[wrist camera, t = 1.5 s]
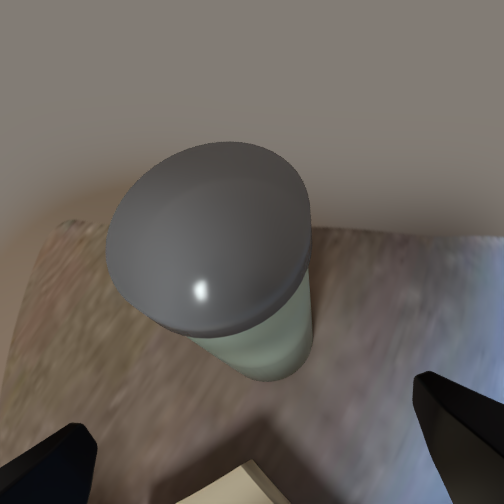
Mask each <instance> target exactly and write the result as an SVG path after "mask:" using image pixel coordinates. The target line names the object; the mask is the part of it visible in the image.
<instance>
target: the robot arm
mask: <svg viewBox="0 0 504 504" xmlns="http://www.w3.org/2000/svg"><path fill="white" fill-rule="evenodd" d="M412 401H413V407H414V410H415V412H416V415H417V418H418V421H419V424H420V426H421V429H422V432H423V435H424V438H425V441H426V444H427V447H428V450H429V452H430V455H431V457H432V460H433V462H434V464H435V466H436V468H437V470H438V472H439V474H440V476H441V478H442V481H443V483H444V485H445V487H446V489H447V491H448V494H449V496H450V498H451V500H452V502H453V504H504V404H502V403H500V402H497V401H495V400H493V399H491V398H488V397H486V396H484V395H482V394H479V393H477V392H475V391H473V390H471V389H469V388H466V387H464V386H462V385H460V384H458V383H455V382H453V381H451V380H449V379H447V378H445V377H443V376H440V375H438V374H436V373H434V372H432V371H426V372H424V373H421V374H418V375H416V376H415V377H414V382H413V398H412ZM97 449H98V448H97V443H96V441H95V440H94V438H93V437H92V435H91V434H90V433H89V431H88V430H87V428H86V427H85V426H84V425H83V424H81V423H69V424H68V425H66V426H65V427H63V428H62V429H60V430H59V431H57V432H56V433H54V434H53V435H51V436H49V437H48V438H46V439H45V440H43V441H42V442H40V443H39V444H37V445H36V446H34V447H32V448H31V449H29V450H28V451H26V452H25V453H23V454H21V455H20V456H18V457H17V458H15V459H13V460H12V461H10V462H9V463H7V464H5V465H4V466H2V467H1V468H0V504H87V503H88V499H89V495H90V491H91V485H92V479H93V473H94V467H95V461H96V455H97Z"/></svg>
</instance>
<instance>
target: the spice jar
mask: <svg viewBox="0 0 504 504" xmlns="http://www.w3.org/2000/svg"><path fill="white" fill-rule="evenodd" d="M311 251H312V230H311V215H310V203H309V198H308V194H307V190H306V188H305V185H304V183H303V181H302V179H301V177H300V176H299V174H298V173H297V171H296V170H295V169H294V168H293V167H292V166H291V165H290V164H289V163H288V162H287V161H286V160H285V159H283V158H282V157H281V156H279V155H277V154H276V153H274V152H272V151H270V150H268V149H265V148H263V147H260V146H256V145H253V144H248V143H242V142H216V143H208V144H204V145H199V146H195V147H192V148H189V149H186V150H184V151H181V152H179V153H177V154H174V155H172V156H171V157H169V158H167V159H165V160H163V161H162V162H160V163H159V164H157V165H156V166H154V167H153V168H152V169H150V170H149V171H148V172H146V173H145V174H144V175H143V176H142V177H141V178H140V179H139V180H138V181H137V182H136V183H135V184H134V185H133V186H132V187H131V188H130V189H129V191H128V192H127V193H126V195H125V196H124V198H123V199H122V200H121V202H120V204H119V205H118V207H117V209H116V211H115V213H114V215H113V218H112V220H111V223H110V226H109V229H108V234H107V239H106V262H107V266H108V271H109V274H110V276H111V279H112V281H113V283H114V285H115V287H116V288H117V290H118V291H119V293H120V294H121V295H122V296H123V297H124V298H125V300H126V301H128V302H129V303H130V304H131V305H133V306H134V307H135V308H136V309H138V310H139V311H141V312H142V313H143V314H145V315H146V316H147V317H149V318H150V319H152V320H153V321H155V322H156V323H157V324H159V325H160V326H162V327H164V328H166V329H167V330H169V331H171V332H174V333H177V334H180V335H183V336H187V337H188V338H189V339H191V340H192V341H194V342H195V343H196V344H198V345H199V346H201V347H202V348H204V349H205V350H207V351H208V352H209V353H211V354H212V355H214V356H215V357H217V358H218V359H220V360H221V361H223V362H224V363H226V364H227V365H229V366H230V367H232V368H233V369H235V370H236V371H238V372H239V373H241V374H243V375H244V376H246V377H248V378H250V379H253V380H256V381H262V382H271V381H277V380H281V379H284V378H286V377H288V376H290V375H292V374H293V373H295V372H296V371H297V370H298V369H299V368H300V367H301V366H302V365H303V364H304V363H305V361H306V359H307V358H308V356H309V353H310V351H311V347H312V341H313V333H312V316H311V301H310V287H309V274H308V265H309V262H310V258H311Z"/></svg>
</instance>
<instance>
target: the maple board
mask: <svg viewBox="0 0 504 504" xmlns="http://www.w3.org/2000/svg"><path fill="white" fill-rule="evenodd" d="M176 504H291V503H290V502H289V501H288V499H287V498H286V497H285V496H284V495H283V494H282V493H281V492H280V491H279V490H278V488H277V487H276V486H275V485H274V484H273V483H272V482H271V481H270V479H269V478H268V477H267V476H266V475H265V474H264V473H263V471H262V470H261V469H260V468H259V467H258V466H257V464H256V463H255V462H254V461H253V460H252V459H251V460H249V461H247V462H246V463H244V464H242V465H240V466H239V467H237V468H236V469H234V470H233V471H231V472H229V473H228V474H226V475H225V476H223V477H221V478H220V479H218V480H217V481H215V482H213V483H212V484H210V485H208V486H206V487H205V488H203V489H201V490H200V491H198V492H196V493H194V494H192V495H191V496H189V497H187V498H185V499H183V500H181V501H180V502H178V503H176Z"/></svg>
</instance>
